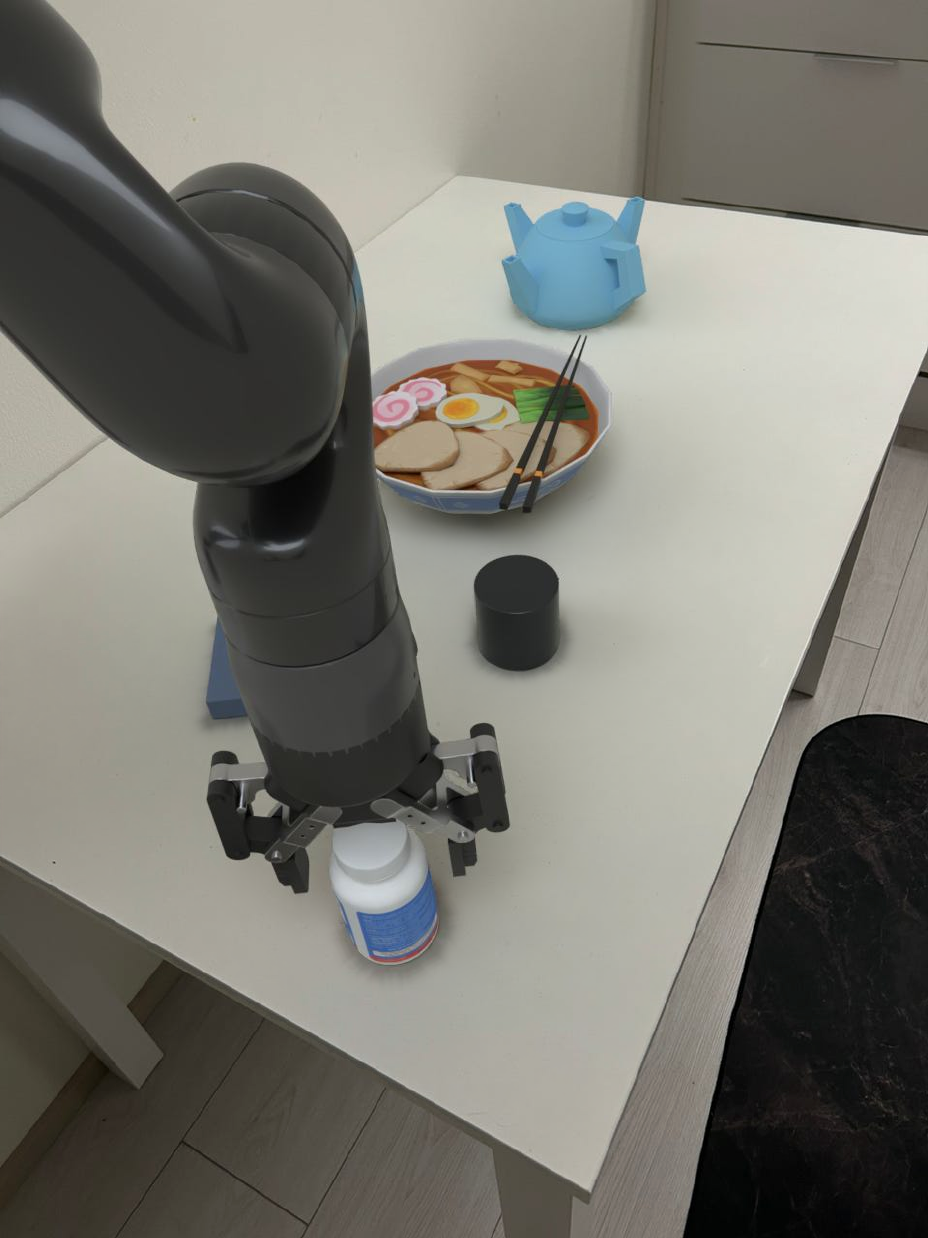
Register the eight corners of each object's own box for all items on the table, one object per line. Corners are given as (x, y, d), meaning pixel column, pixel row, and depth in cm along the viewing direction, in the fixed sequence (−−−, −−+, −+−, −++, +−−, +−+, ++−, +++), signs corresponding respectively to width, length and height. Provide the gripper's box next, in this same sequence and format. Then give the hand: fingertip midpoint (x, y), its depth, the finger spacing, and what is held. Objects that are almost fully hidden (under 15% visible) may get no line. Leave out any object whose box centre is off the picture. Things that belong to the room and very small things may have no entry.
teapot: (497, 340, 103) (492, 241, 95) (506, 272, 113) (503, 178, 105) (644, 338, 101) (651, 237, 93) (640, 270, 111) (646, 173, 103)
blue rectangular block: (282, 712, 69) (276, 694, 68) (212, 719, 69) (205, 702, 68) (288, 622, 76) (282, 604, 74) (224, 628, 76) (217, 611, 74)
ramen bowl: (409, 386, 98) (399, 311, 92) (635, 413, 92) (641, 335, 86) (307, 549, 81) (288, 471, 76) (574, 595, 75) (576, 514, 70)
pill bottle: (457, 909, 58) (443, 821, 51) (404, 985, 55) (382, 902, 48) (384, 867, 60) (361, 776, 53) (329, 937, 57) (297, 851, 50)
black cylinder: (468, 662, 71) (462, 605, 67) (491, 606, 75) (487, 548, 71) (548, 677, 70) (547, 620, 66) (567, 619, 74) (567, 561, 69)
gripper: (150, 766, 39) (246, 949, 50) (506, 728, 39) (519, 920, 50) (174, 630, 44) (256, 825, 55) (488, 597, 44) (503, 798, 56)
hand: (381, 870), depth 53 cm, fingers open, 8 cm apart
